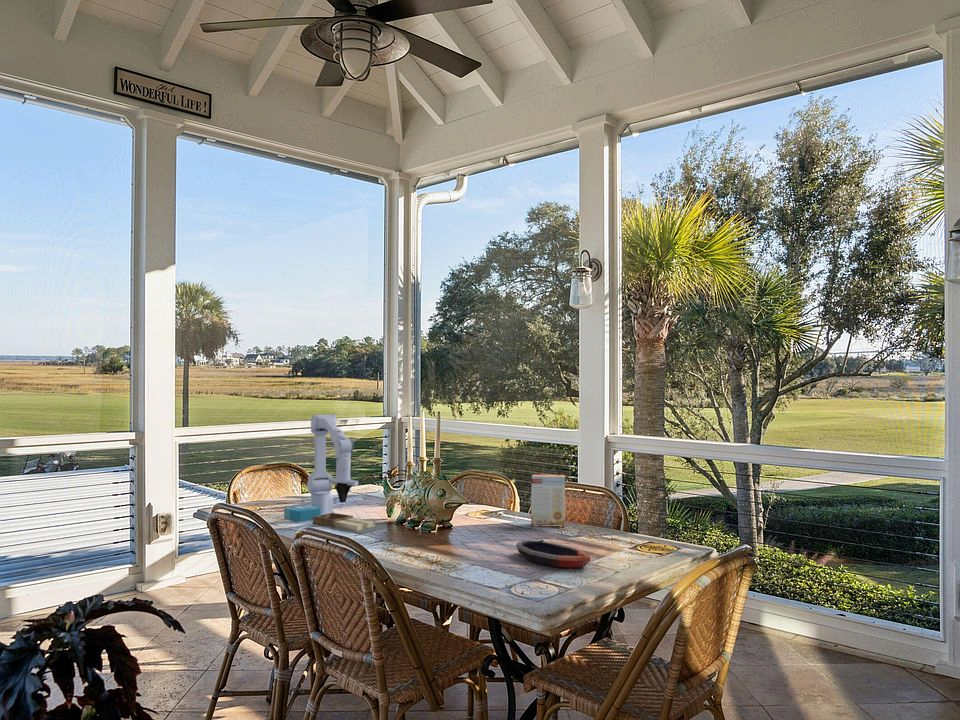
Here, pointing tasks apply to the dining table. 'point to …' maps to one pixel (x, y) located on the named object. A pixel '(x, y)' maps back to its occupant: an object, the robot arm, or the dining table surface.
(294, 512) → the data package
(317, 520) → the walnut box
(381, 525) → the rubber mat
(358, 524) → the cover plate
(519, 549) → the dish
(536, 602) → the dining table surface
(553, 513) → the cracker box
